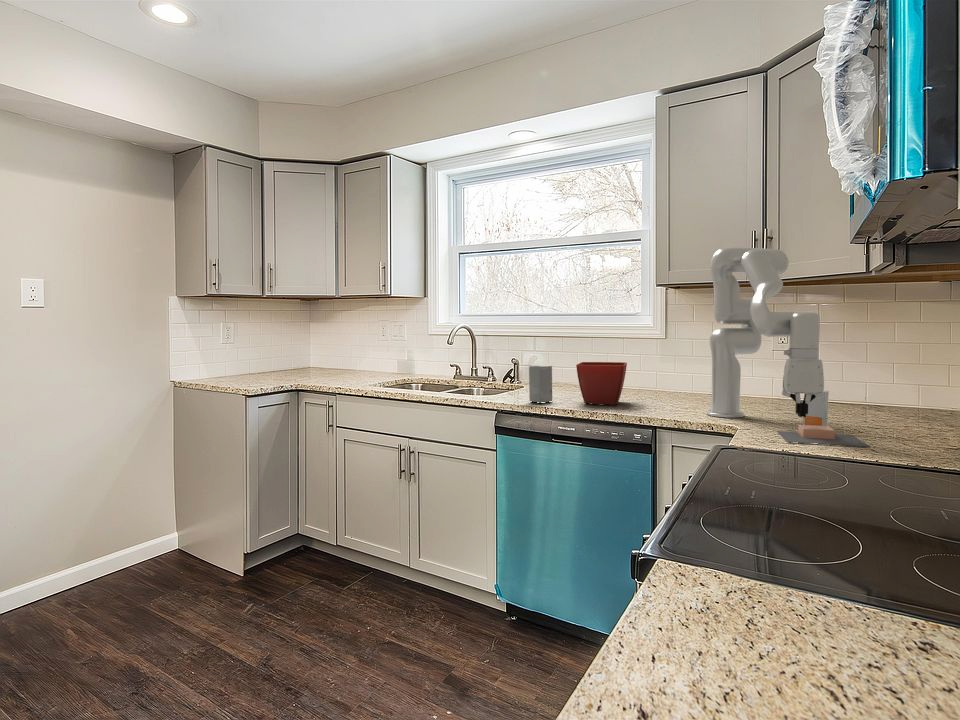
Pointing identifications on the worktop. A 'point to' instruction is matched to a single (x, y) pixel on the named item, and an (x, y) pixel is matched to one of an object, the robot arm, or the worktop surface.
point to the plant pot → (601, 381)
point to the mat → (839, 439)
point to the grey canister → (540, 383)
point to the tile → (816, 432)
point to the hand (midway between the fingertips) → (801, 416)
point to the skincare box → (817, 411)
